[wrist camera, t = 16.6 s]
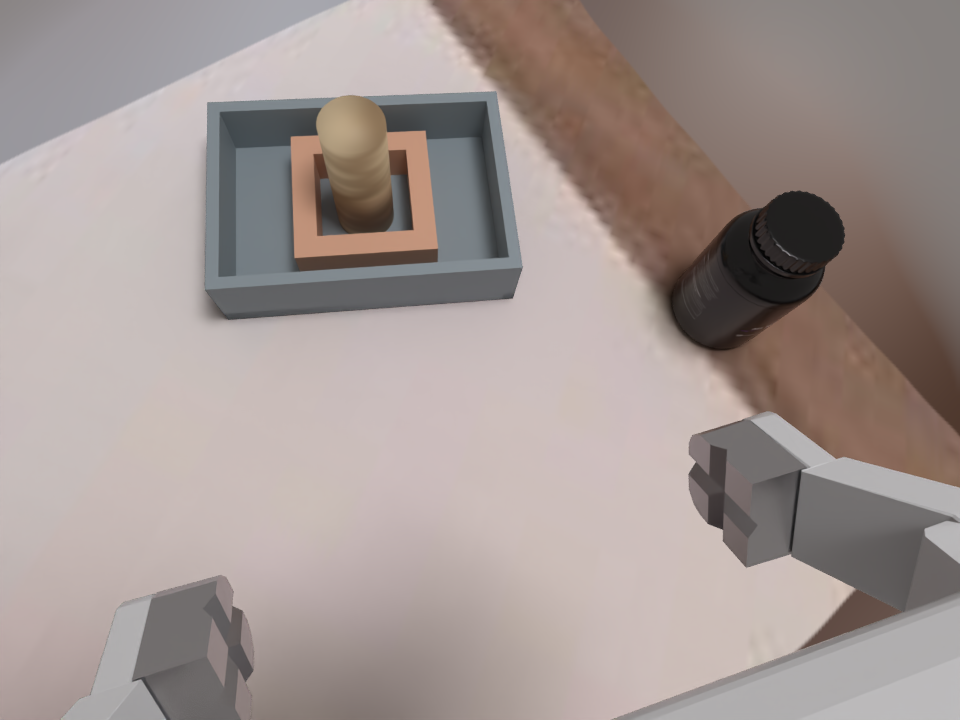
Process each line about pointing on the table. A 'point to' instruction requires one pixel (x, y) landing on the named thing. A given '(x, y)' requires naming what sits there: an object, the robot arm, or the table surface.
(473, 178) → the open-top box
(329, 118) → the beech peg
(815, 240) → the supplement bottle
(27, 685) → the table surface
